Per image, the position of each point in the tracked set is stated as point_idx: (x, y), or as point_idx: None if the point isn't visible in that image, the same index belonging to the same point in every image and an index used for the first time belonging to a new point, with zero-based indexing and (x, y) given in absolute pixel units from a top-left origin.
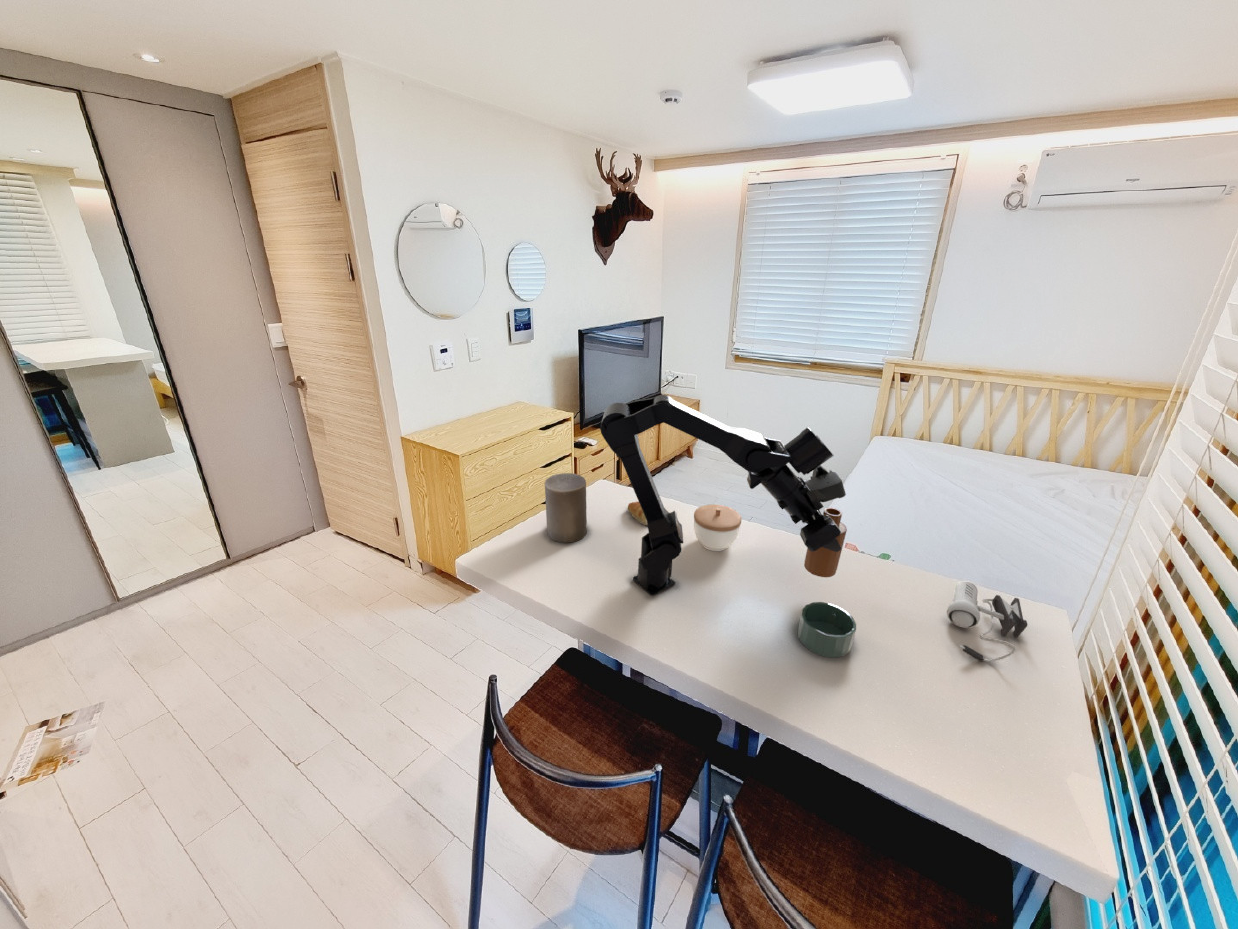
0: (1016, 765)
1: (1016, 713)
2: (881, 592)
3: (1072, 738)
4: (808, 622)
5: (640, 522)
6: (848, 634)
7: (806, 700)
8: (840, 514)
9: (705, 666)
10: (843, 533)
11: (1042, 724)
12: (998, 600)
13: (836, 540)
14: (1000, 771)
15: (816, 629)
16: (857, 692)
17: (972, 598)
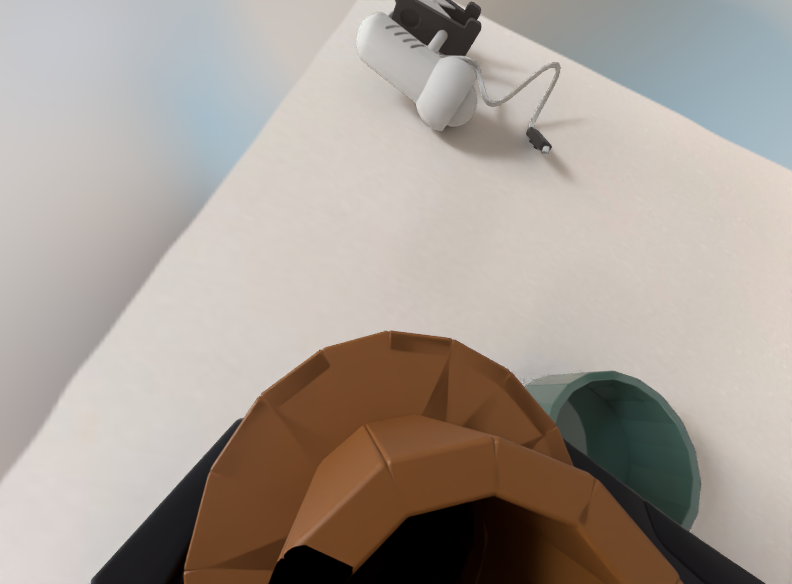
0: (728, 200)
1: (632, 149)
2: (342, 229)
3: (648, 108)
4: None
5: None
6: (669, 409)
7: (773, 534)
8: (584, 507)
9: None
10: (526, 394)
11: (639, 128)
12: (413, 6)
13: (621, 485)
14: (749, 226)
15: (688, 515)
16: (700, 402)
17: (425, 46)
